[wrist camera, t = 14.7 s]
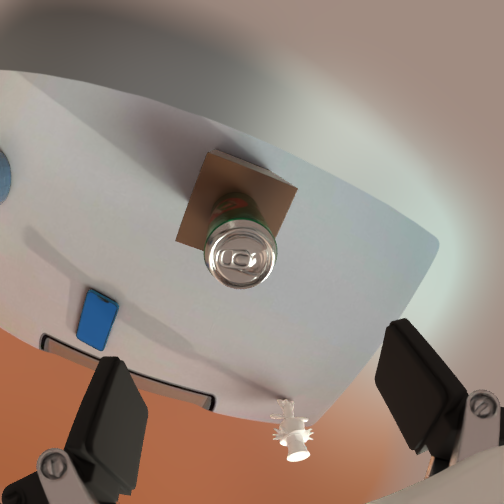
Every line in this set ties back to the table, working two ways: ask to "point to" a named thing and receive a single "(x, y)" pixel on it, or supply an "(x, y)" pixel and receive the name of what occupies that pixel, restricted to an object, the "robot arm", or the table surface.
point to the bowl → (4, 177)
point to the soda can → (239, 242)
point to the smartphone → (96, 320)
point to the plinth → (233, 180)
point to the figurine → (292, 432)
